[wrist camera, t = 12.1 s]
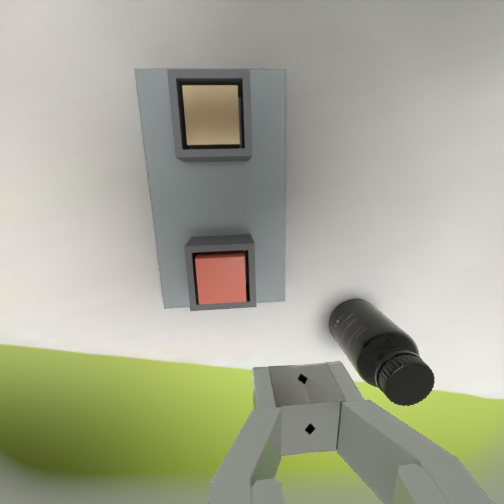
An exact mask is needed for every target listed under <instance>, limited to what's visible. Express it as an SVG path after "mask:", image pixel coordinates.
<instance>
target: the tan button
mask: <svg viewBox="0 0 504 504" xmlns="http://www.w3.org/2000/svg"><path fill="white" fill-rule="evenodd" d="M182 90H183V101H184V113H185V125H186V136H187V145H188V146H189V147H190V148H191V149H239V146H240V133H239V106H238V85H182Z"/></svg>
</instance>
